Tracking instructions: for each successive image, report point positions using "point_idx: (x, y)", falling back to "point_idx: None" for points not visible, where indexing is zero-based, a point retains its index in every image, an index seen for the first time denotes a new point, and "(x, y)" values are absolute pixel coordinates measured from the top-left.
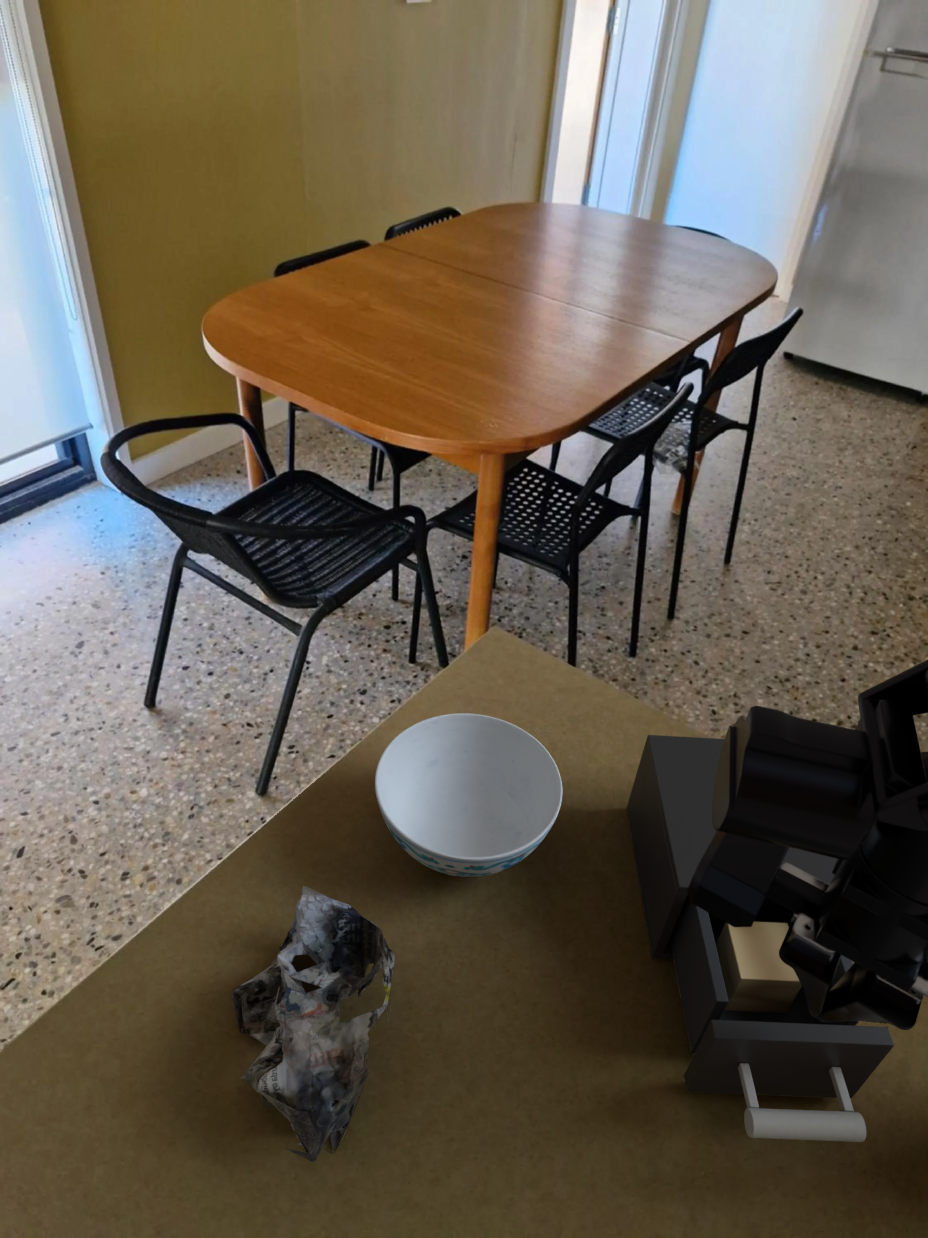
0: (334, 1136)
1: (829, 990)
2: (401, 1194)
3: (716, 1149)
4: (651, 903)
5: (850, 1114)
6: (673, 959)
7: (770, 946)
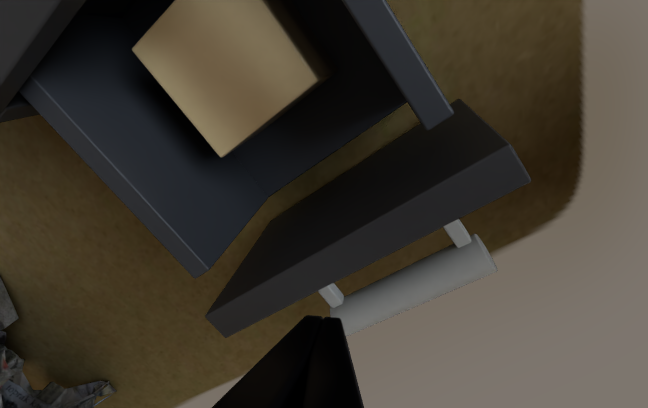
0: (107, 384)
1: (299, 401)
2: (166, 390)
3: None
4: None
5: (466, 260)
6: None
7: (225, 48)
